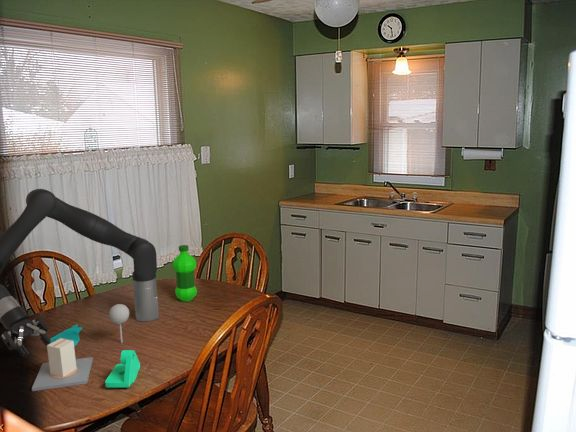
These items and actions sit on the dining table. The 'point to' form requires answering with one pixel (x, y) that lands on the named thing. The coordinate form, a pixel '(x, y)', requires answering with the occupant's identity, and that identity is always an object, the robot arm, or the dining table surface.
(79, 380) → the base
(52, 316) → the dining table surface
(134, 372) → the camera mount
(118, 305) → the lollipop
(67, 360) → the striped cream block
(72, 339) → the cloth
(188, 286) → the plastic bottle
